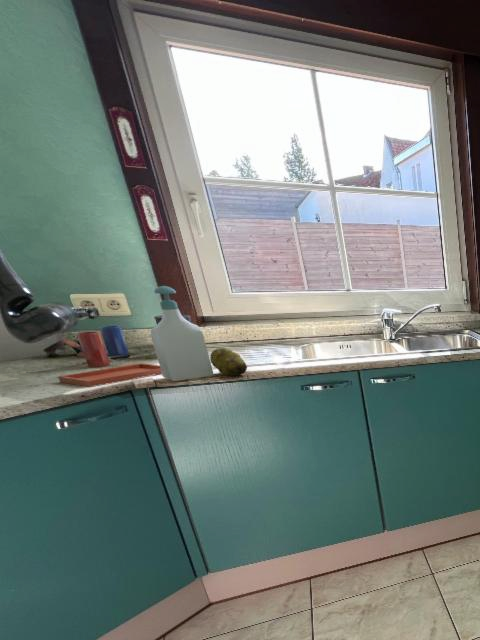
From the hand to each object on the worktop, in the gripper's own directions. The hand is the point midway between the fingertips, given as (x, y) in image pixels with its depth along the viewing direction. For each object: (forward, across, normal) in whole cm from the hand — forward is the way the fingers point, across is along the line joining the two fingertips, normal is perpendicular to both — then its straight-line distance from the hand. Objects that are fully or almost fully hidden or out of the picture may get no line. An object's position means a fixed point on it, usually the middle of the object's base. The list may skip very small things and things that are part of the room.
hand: (70, 311), depth 149 cm
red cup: (+11, 0, +19) cm, 22 cm away
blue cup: (+25, -3, +19) cm, 32 cm away
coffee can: (+25, -21, +19) cm, 38 cm away
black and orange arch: (+29, +10, +19) cm, 36 cm away
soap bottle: (-18, -25, +19) cm, 37 cm away
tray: (-10, -8, +19) cm, 23 cm away
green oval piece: (-20, -36, +19) cm, 46 cm away
